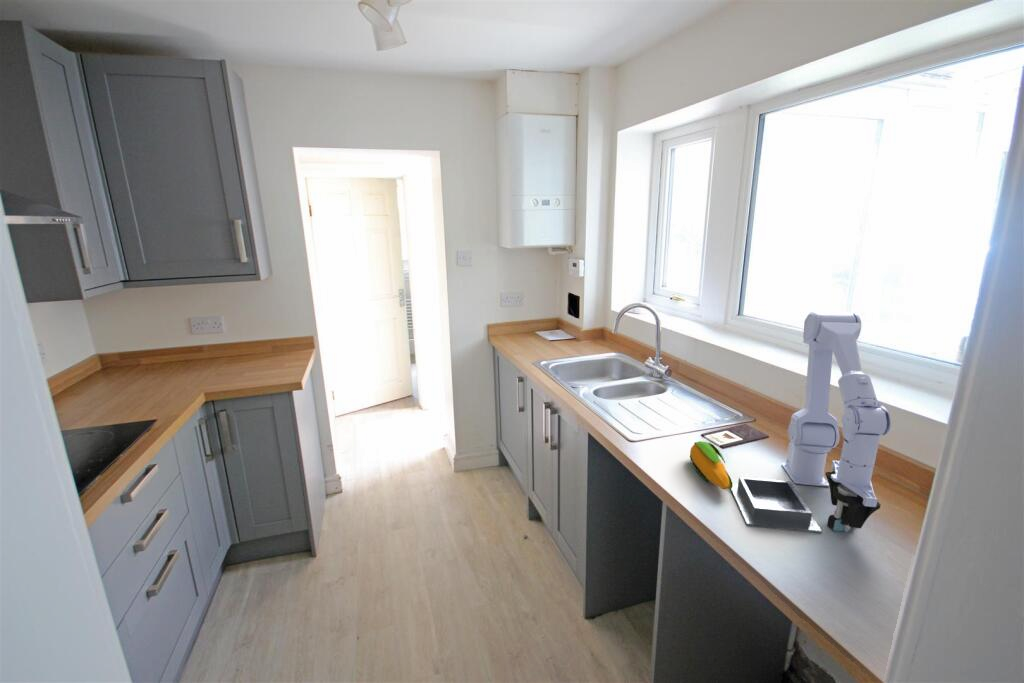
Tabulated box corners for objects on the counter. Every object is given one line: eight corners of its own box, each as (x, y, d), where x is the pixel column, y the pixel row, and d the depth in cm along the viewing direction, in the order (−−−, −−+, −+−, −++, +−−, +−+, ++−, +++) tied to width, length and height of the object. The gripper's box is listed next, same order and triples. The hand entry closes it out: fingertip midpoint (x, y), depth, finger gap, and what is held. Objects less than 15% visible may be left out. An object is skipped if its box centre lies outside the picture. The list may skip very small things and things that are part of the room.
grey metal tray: (728, 484, 116) (730, 472, 115) (792, 490, 113) (794, 477, 113) (746, 525, 101) (748, 511, 100) (821, 533, 98) (824, 519, 97)
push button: (844, 517, 103) (853, 478, 101) (867, 532, 98) (876, 492, 96) (820, 521, 102) (827, 482, 99) (841, 537, 97) (849, 497, 94)
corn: (711, 432, 128) (745, 471, 108) (710, 457, 130) (743, 499, 110) (684, 434, 128) (714, 473, 109) (684, 458, 130) (713, 501, 111)
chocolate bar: (769, 435, 140) (723, 447, 134) (768, 438, 140) (723, 450, 134) (745, 423, 148) (701, 434, 142) (744, 426, 148) (701, 436, 142)
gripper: (820, 442, 103) (811, 494, 107) (853, 477, 90) (841, 535, 93) (855, 444, 102) (844, 497, 106) (894, 480, 88) (880, 539, 92)
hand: (845, 515), depth 99 cm, fingers open, 7 cm apart
